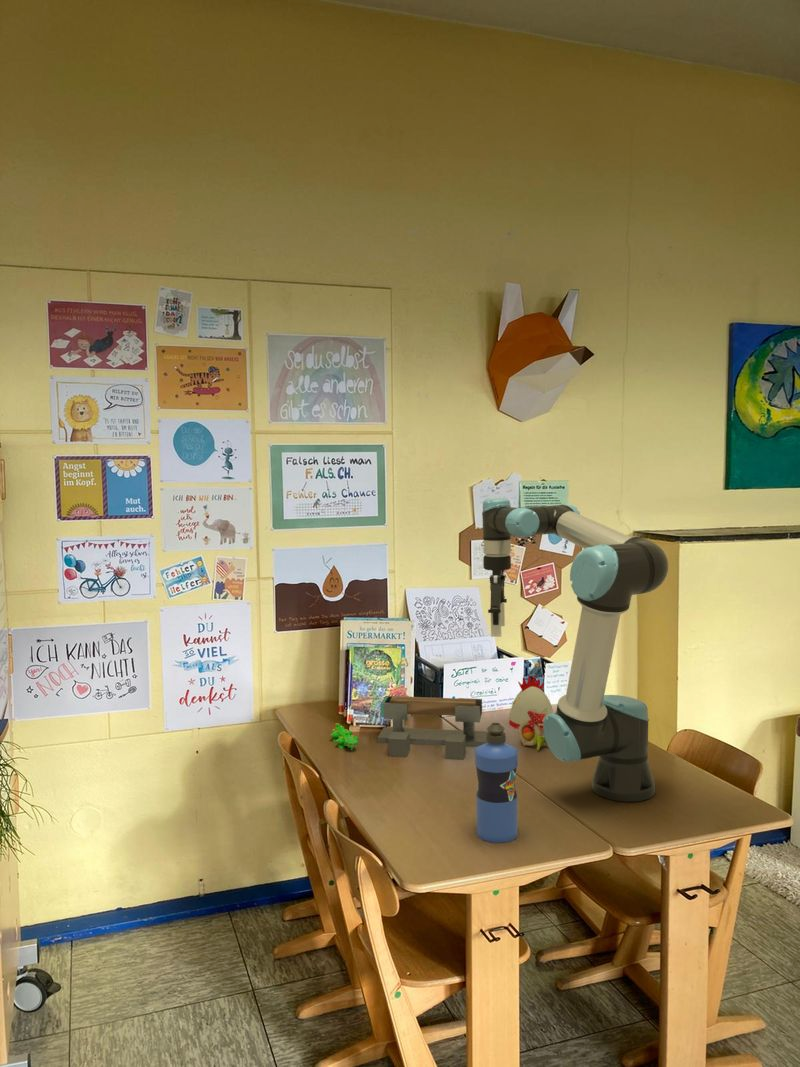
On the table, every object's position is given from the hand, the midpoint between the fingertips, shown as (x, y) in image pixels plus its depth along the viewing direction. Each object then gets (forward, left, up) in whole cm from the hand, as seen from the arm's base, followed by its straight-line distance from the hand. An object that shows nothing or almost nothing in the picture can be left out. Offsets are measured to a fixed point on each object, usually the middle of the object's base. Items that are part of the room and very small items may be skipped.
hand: (498, 631), depth 231 cm
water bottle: (-50, -3, -35) cm, 61 cm away
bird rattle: (+5, -9, -35) cm, 36 cm away
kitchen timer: (+26, -8, -35) cm, 44 cm away
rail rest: (-4, +20, -35) cm, 40 cm away
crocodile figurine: (+2, +45, -35) cm, 57 cm away
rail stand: (+8, +20, -35) cm, 41 cm away
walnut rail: (+8, +20, -27) cm, 34 cm away
